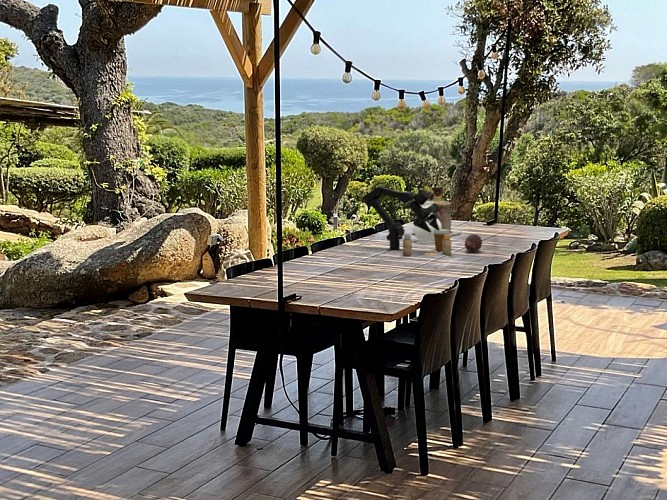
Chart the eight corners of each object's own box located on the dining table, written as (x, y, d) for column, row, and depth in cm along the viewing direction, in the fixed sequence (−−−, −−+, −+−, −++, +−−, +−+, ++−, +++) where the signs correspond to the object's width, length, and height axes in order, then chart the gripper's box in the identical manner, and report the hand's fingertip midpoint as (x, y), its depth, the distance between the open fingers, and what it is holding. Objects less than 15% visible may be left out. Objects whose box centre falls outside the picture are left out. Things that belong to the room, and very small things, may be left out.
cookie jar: (433, 231, 581) (434, 183, 576) (463, 234, 564) (464, 185, 559) (410, 234, 563) (410, 185, 558) (440, 238, 546) (441, 187, 541)
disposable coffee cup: (448, 251, 493) (449, 231, 491) (432, 251, 494) (432, 230, 493) (450, 249, 502) (450, 228, 500) (433, 248, 504) (433, 228, 502)
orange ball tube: (440, 255, 480) (440, 233, 478) (447, 255, 482) (448, 233, 480) (445, 256, 476) (445, 234, 474) (452, 256, 478) (452, 234, 476)
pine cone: (466, 249, 503) (466, 232, 501) (483, 249, 500) (484, 232, 499) (462, 253, 486) (462, 236, 484) (480, 254, 483) (480, 236, 482)
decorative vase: (441, 240, 536) (441, 200, 532) (441, 244, 519) (442, 203, 515) (412, 240, 538) (412, 200, 534) (412, 244, 521) (412, 203, 517)
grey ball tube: (401, 255, 476) (401, 233, 474) (408, 254, 477) (409, 232, 476) (405, 256, 471) (405, 234, 469) (413, 256, 473) (413, 234, 471)
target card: (396, 256, 478) (396, 254, 478) (431, 253, 487) (431, 252, 487) (406, 259, 468) (406, 257, 468) (441, 256, 477) (441, 254, 477)
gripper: (418, 202, 475) (435, 223, 470) (435, 199, 489) (452, 219, 484) (405, 215, 480) (422, 236, 476) (423, 212, 495) (439, 232, 490)
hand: (434, 231), depth 481 cm, fingers open, 9 cm apart
